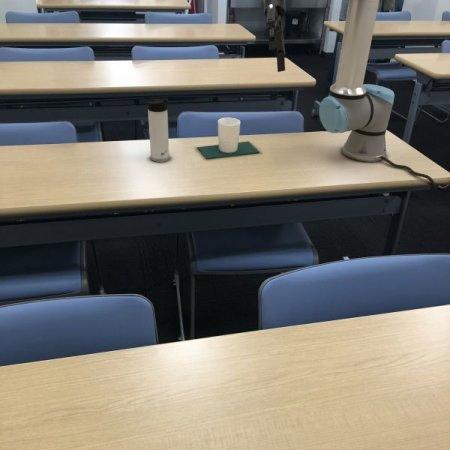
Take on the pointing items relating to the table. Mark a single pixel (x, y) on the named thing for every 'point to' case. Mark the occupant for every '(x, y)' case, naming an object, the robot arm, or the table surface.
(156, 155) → the travel mug
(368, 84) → the robot arm
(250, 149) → the placemat
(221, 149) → the white cup
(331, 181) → the table surface
